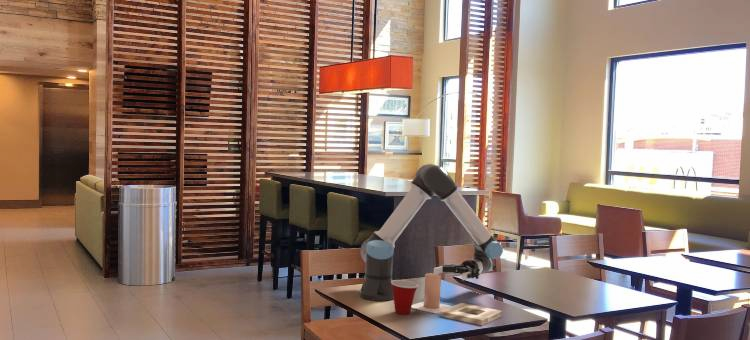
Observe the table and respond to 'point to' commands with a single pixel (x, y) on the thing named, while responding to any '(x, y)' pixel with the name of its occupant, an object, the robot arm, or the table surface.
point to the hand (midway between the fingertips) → (448, 274)
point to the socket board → (482, 318)
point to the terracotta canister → (432, 290)
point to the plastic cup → (403, 295)
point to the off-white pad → (421, 307)
